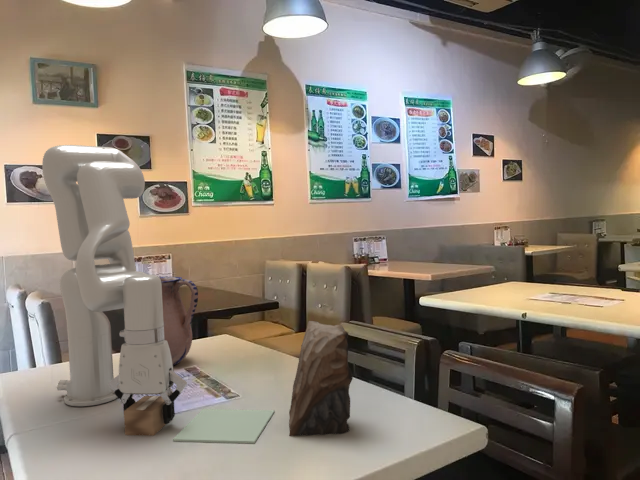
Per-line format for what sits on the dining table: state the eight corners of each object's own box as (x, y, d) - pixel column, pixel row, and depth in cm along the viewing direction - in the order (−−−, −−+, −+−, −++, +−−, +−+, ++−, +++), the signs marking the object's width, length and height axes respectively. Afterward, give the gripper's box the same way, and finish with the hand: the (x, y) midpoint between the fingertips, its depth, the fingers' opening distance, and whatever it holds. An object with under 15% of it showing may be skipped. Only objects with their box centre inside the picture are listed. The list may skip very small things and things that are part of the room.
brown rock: (302, 412, 118) (299, 319, 117) (361, 414, 115) (358, 319, 114) (286, 436, 106) (281, 332, 105) (351, 439, 103) (347, 333, 102)
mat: (172, 441, 105) (172, 439, 105) (203, 410, 121) (202, 409, 121) (254, 443, 103) (254, 441, 103) (274, 412, 119) (274, 410, 119)
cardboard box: (125, 435, 109) (123, 410, 109) (146, 418, 118) (144, 394, 118) (153, 436, 109) (152, 410, 108) (172, 419, 117) (171, 395, 117)
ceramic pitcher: (147, 356, 170) (142, 275, 169) (213, 356, 168) (209, 273, 166) (118, 373, 153) (113, 283, 152) (192, 373, 150) (187, 281, 149)
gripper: (95, 340, 110) (100, 427, 111) (178, 340, 108) (182, 429, 108) (114, 332, 118) (119, 413, 119) (192, 331, 115) (197, 415, 116)
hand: (149, 420), depth 113 cm, fingers open, 7 cm apart
